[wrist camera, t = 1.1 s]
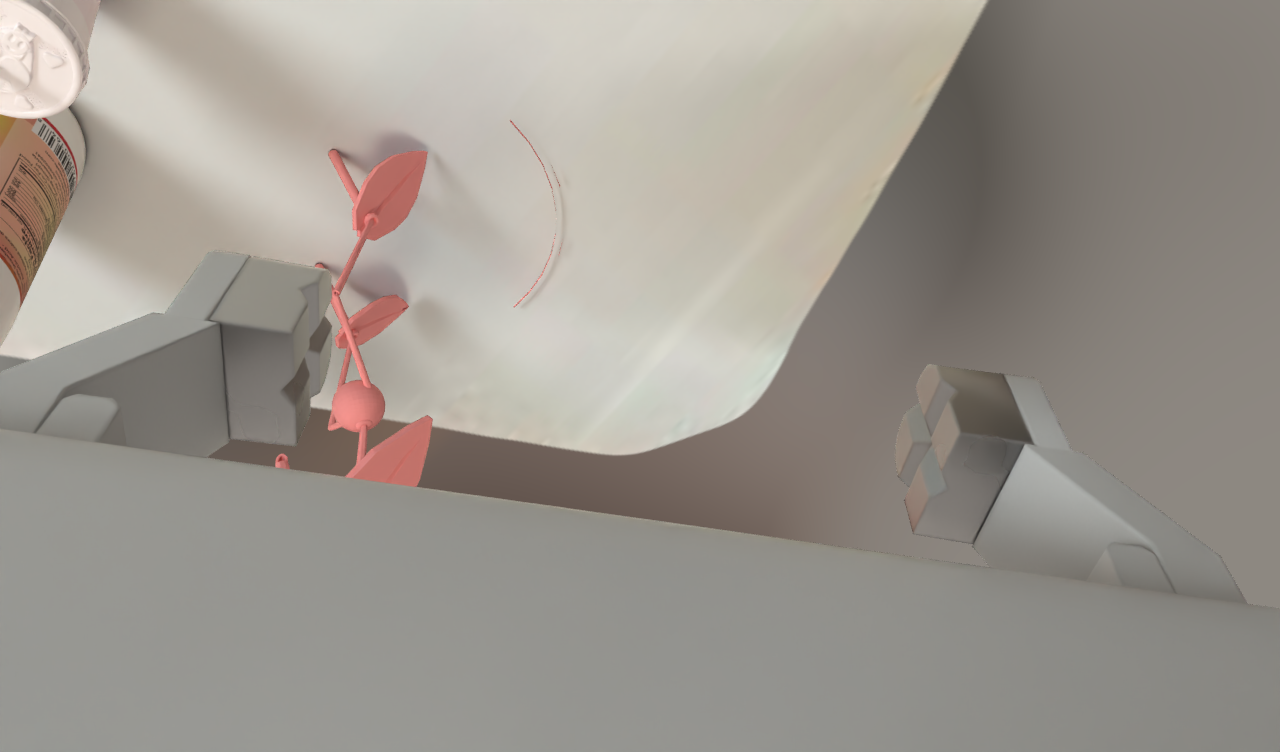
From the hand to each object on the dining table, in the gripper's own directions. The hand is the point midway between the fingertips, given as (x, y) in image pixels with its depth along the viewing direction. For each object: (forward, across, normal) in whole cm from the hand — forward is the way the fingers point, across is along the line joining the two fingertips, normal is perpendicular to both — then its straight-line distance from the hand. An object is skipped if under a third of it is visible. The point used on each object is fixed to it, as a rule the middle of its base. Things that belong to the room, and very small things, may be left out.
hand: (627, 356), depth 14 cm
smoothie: (+41, +27, +10) cm, 50 cm away
